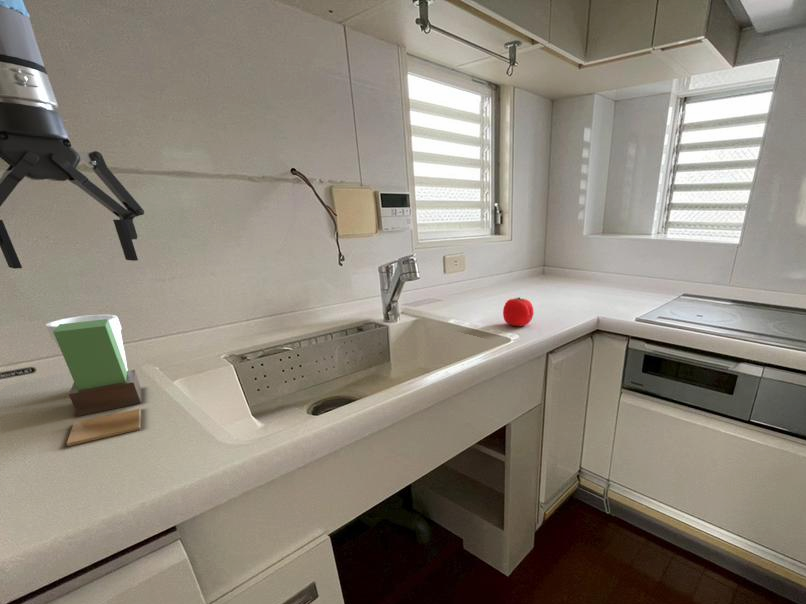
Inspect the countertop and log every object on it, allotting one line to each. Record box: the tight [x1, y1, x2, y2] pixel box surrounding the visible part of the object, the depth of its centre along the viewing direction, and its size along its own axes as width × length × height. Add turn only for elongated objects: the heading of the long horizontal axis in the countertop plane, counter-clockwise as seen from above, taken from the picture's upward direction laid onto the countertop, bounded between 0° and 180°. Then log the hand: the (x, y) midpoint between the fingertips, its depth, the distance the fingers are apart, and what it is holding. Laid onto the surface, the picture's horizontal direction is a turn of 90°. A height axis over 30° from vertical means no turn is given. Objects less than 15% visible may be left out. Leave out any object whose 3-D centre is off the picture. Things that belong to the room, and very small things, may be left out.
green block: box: [54, 319, 127, 391], centre depth 68 cm, size 6×6×10 cm
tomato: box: [502, 297, 535, 327], centre depth 122 cm, size 9×10×8 cm
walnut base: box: [68, 369, 142, 417], centre depth 71 cm, size 8×8×4 cm
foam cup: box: [45, 313, 129, 371], centre depth 75 cm, size 10×9×13 cm
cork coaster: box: [66, 408, 142, 447], centre depth 63 cm, size 8×8×1 cm
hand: (78, 263), depth 64 cm, fingers open, 13 cm apart
